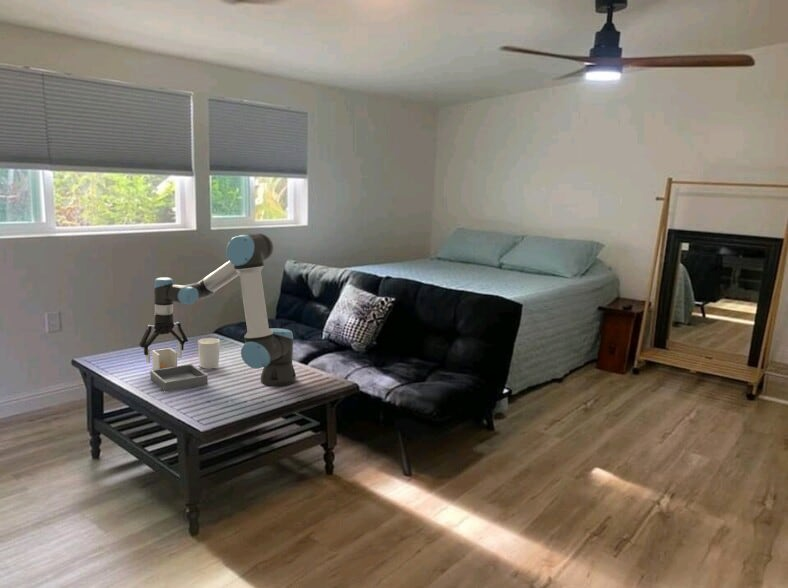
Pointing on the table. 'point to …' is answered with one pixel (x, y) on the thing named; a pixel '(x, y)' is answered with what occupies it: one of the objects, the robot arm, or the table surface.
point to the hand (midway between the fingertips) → (164, 359)
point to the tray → (178, 377)
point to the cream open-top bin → (164, 358)
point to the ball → (162, 365)
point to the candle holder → (209, 352)
